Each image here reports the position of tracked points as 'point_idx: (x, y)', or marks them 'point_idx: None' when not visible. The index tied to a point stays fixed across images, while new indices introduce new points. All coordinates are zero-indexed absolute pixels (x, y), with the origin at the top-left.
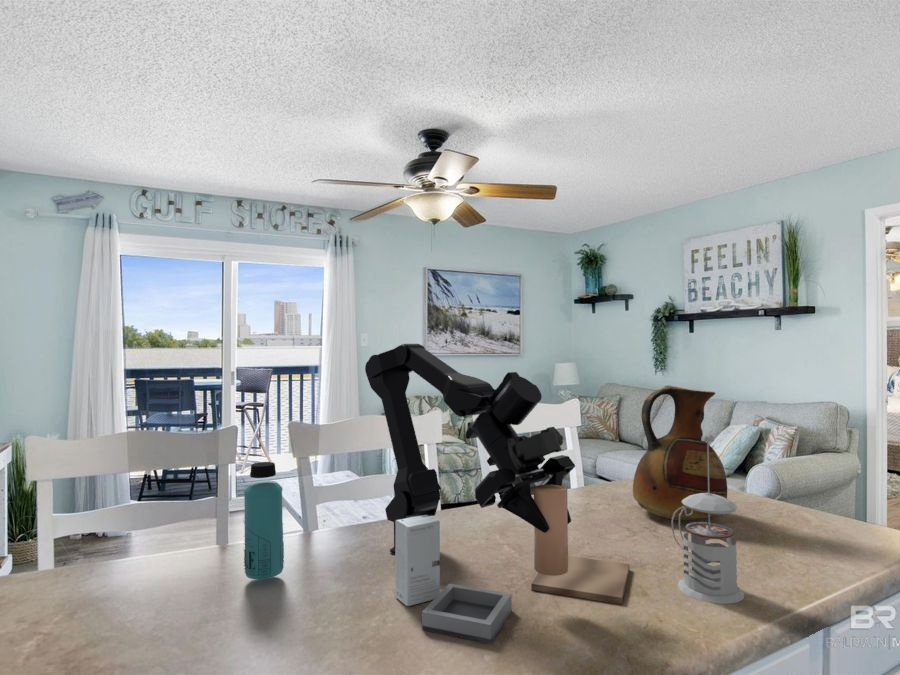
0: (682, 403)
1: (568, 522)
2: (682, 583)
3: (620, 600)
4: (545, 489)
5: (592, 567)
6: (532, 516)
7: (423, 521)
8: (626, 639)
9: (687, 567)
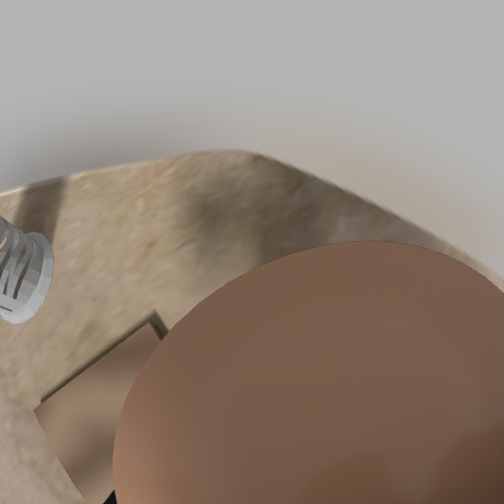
0: None
1: None
2: (30, 302)
3: (152, 325)
4: (450, 478)
5: (93, 455)
6: None
7: None
8: (253, 226)
9: (13, 278)
